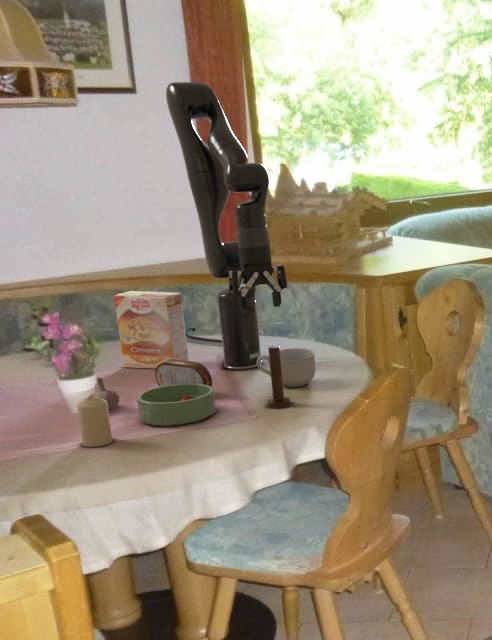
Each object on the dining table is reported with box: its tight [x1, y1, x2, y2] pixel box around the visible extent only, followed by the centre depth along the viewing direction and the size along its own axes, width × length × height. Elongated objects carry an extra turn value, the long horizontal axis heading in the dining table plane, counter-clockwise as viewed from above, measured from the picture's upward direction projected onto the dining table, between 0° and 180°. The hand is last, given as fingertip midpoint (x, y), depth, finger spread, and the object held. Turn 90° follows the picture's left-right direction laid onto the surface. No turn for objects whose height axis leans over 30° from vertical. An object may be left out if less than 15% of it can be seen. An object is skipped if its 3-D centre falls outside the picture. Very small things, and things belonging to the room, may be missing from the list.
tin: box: [154, 359, 213, 387], centre depth 244 cm, size 15×3×8 cm, turn 71°
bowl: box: [136, 383, 217, 427], centre depth 228 cm, size 16×16×6 cm
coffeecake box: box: [114, 290, 190, 370], centre depth 269 cm, size 15×7×20 cm, turn 81°
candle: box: [76, 394, 113, 448], centre depth 211 cm, size 6×6×10 cm
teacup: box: [257, 347, 316, 388], centre depth 254 cm, size 14×11×8 cm
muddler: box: [267, 345, 291, 409], centre depth 236 cm, size 5×5×14 cm
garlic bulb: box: [89, 376, 120, 411], centre depth 233 cm, size 8×7×8 cm
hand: (261, 308), depth 257 cm, fingers open, 8 cm apart
